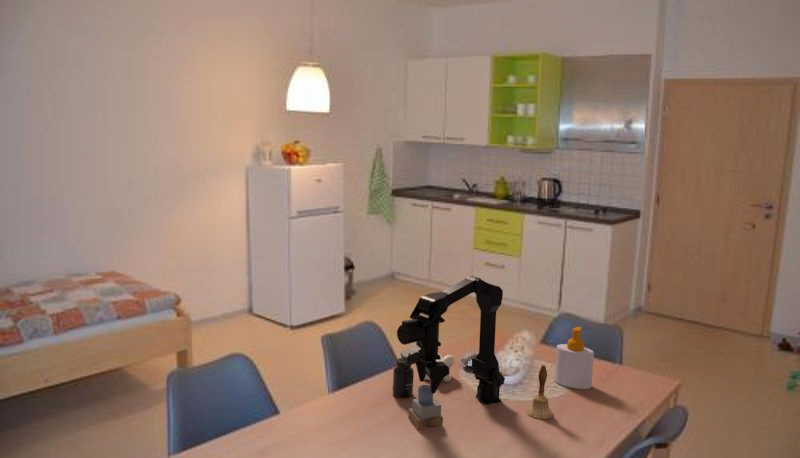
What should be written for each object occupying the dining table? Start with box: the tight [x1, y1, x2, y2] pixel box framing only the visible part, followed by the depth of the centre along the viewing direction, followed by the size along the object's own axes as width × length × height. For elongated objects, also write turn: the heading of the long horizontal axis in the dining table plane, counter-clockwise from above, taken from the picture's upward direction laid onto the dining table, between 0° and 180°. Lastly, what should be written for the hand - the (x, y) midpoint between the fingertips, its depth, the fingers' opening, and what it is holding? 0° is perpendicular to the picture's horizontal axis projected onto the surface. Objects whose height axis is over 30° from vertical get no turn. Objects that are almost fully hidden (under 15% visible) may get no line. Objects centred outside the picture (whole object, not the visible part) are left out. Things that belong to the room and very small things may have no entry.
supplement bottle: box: [392, 357, 415, 399], centre depth 214 cm, size 7×7×12 cm
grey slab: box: [411, 397, 442, 419], centre depth 194 cm, size 6×6×4 cm
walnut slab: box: [408, 407, 444, 430], centre depth 195 cm, size 8×8×4 cm
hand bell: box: [526, 364, 554, 420], centre depth 202 cm, size 8×8×16 cm
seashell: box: [460, 353, 478, 367], centre depth 241 cm, size 12×8×5 cm
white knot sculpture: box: [424, 352, 455, 383], centre depth 228 cm, size 11×12×9 cm
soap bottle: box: [554, 326, 595, 390], centre depth 225 cm, size 13×8×20 cm, turn 58°
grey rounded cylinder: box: [417, 384, 434, 405], centre depth 194 cm, size 4×4×4 cm
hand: (427, 387), depth 193 cm, fingers open, 9 cm apart
